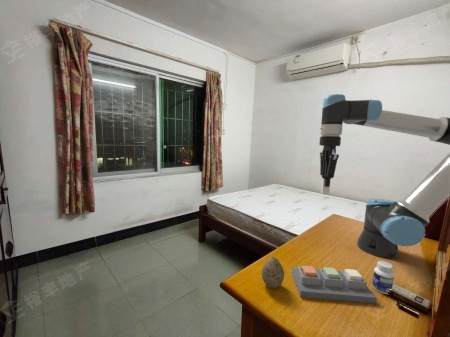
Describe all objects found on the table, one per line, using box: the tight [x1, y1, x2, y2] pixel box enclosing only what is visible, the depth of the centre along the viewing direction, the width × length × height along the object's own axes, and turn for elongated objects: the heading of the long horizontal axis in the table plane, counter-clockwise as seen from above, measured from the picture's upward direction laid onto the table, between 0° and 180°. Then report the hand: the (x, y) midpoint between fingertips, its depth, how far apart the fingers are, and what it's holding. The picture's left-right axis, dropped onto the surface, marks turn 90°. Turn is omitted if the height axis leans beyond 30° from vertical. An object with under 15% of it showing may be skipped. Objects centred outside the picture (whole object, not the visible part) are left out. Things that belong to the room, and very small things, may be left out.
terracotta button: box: [301, 265, 316, 277], centre depth 70 cm, size 4×4×3 cm
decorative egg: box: [261, 256, 285, 289], centre depth 69 cm, size 7×7×10 cm
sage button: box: [322, 267, 339, 279], centre depth 69 cm, size 4×4×3 cm
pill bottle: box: [371, 260, 395, 295], centre depth 69 cm, size 5×5×9 cm
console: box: [290, 266, 377, 304], centre depth 70 cm, size 22×12×4 cm, turn 85°
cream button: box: [344, 268, 363, 281], centre depth 69 cm, size 4×4×3 cm
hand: (324, 193), depth 87 cm, fingers closed
